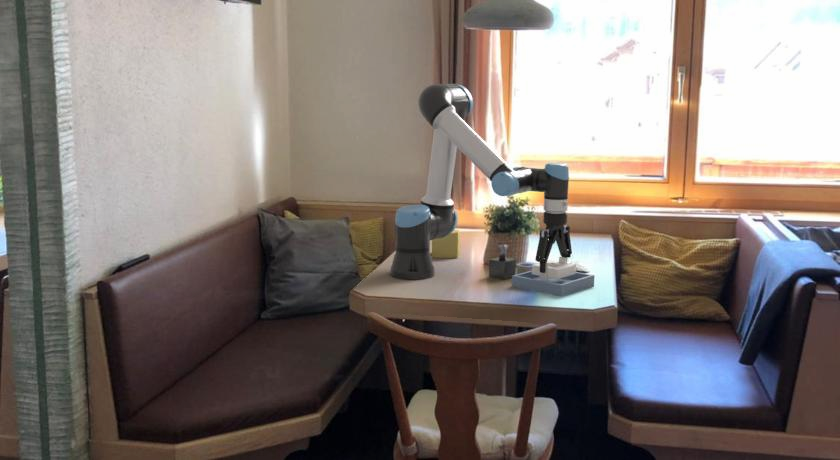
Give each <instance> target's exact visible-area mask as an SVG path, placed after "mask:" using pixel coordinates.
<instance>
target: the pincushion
mask: <svg viewBox="0 0 840 460" xmlns="http://www.w3.org/2000/svg"><path fill="white" fill-rule="evenodd" d="M567 263H568V264H573V265H575V272H577V271H581V272H590V269H588V268H587V267H585V266H584V265H582V264H580V263H577V262H567Z"/></svg>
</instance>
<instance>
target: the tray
mask: <svg viewBox="0 0 840 460" xmlns="http://www.w3.org/2000/svg"><path fill="white" fill-rule="evenodd" d="M595 276H596V275H595V274H590V273H589V274H588V273H584V272H579V271H576V272H575V274H573V275H570V276H567V277H563V278H560V279H555V278H549V277H548V282H547V281H541V280H540V276H539V275H534V274H532V269H531V270H529V271H524V272H521V273H516V275H513V276H512V278H511V287H514V288H520V289H523V290H530V291H532V292H533V291H534V292H539V293H544V294H549V295H552V296H558V297H563V296H568V295H570V294H573V293H576V292H579V290H580V291H582V289H583V290H585V288H586V289H588V288H592V287H594V286H595ZM591 286H592V287H591Z"/></svg>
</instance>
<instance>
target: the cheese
mask: <svg viewBox="0 0 840 460" xmlns="http://www.w3.org/2000/svg"><path fill="white" fill-rule="evenodd" d="M460 252H461V245H460V230H459V229H454V231H453V232H452V233H450V234H449V235H447V236H445V237H443V238H437V239H434V240H431V259H432V258H435V259H437V258H438V259H442V258H443V259H458V258H459V254H460Z"/></svg>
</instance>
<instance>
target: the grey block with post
mask: <svg viewBox="0 0 840 460" xmlns="http://www.w3.org/2000/svg"><path fill="white" fill-rule="evenodd" d="M507 249H509V245H508V244H506V243H504V244H499V245H497V250H498V256H497V257H494V258H489V263H488V265H489V266H488V277H489V278H493V279H498V280H502V281H504V280H507V279H512V276H513V275H516V274H517V273H516V272H517V271H516V268H517V262H516V261H517V259H516V258H511V257H507Z"/></svg>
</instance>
